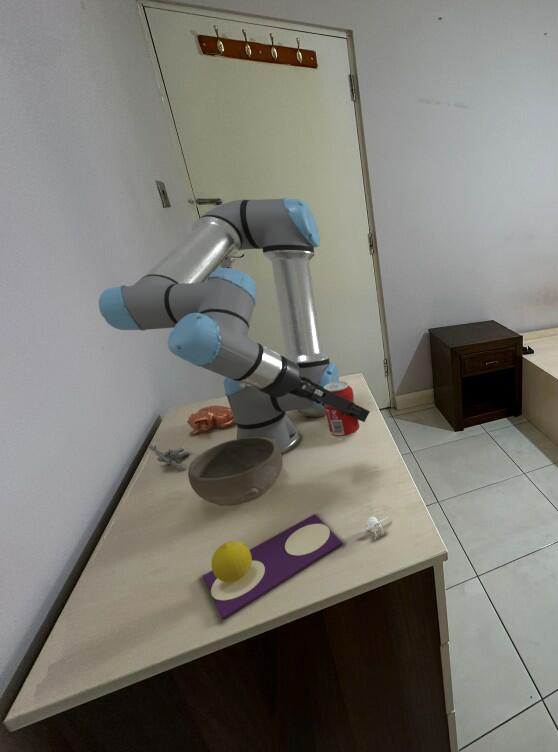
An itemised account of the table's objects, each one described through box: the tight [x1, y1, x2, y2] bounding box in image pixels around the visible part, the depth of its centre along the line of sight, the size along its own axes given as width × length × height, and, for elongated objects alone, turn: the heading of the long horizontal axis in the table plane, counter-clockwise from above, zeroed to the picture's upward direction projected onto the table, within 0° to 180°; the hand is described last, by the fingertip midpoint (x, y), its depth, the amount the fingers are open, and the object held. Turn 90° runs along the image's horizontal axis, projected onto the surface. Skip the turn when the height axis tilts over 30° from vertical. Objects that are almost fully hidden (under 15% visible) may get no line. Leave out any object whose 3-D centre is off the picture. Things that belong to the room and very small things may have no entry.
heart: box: [186, 405, 236, 436], centre depth 120 cm, size 6×12×15 cm
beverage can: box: [324, 380, 360, 439], centre depth 89 cm, size 6×6×12 cm
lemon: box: [211, 540, 252, 582], centre depth 68 cm, size 6×6×8 cm
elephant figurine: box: [148, 444, 191, 471], centre depth 103 cm, size 10×6×9 cm
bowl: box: [187, 437, 284, 507], centre depth 91 cm, size 17×18×10 cm
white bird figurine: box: [353, 515, 391, 540], centre depth 79 cm, size 8×5×5 cm, turn 132°
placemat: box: [202, 514, 343, 621], centre depth 74 cm, size 12×20×1 cm, turn 139°
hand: (355, 412), depth 93 cm, fingers closed on beverage can, 6 cm apart
